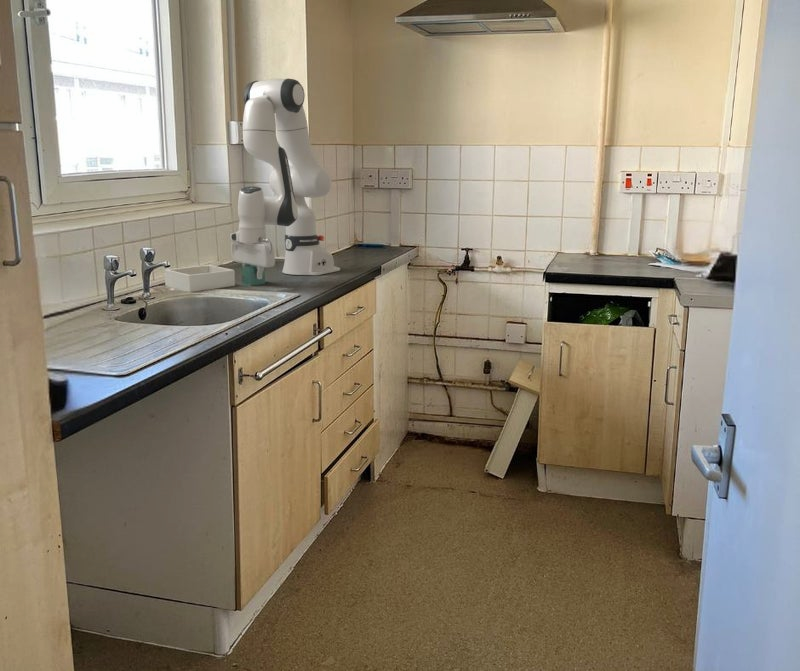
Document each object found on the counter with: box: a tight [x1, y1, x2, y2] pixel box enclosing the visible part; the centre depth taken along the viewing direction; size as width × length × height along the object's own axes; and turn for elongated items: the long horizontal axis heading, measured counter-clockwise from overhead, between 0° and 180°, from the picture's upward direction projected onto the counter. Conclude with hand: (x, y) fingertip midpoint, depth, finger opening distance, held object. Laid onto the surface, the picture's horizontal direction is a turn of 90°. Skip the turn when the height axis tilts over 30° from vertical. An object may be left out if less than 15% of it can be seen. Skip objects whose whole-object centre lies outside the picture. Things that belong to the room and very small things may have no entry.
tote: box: [164, 264, 236, 293], centre depth 263 cm, size 17×15×6 cm
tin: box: [241, 265, 266, 287], centre depth 267 cm, size 6×4×7 cm
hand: (253, 277), depth 267 cm, fingers closed on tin, 4 cm apart
